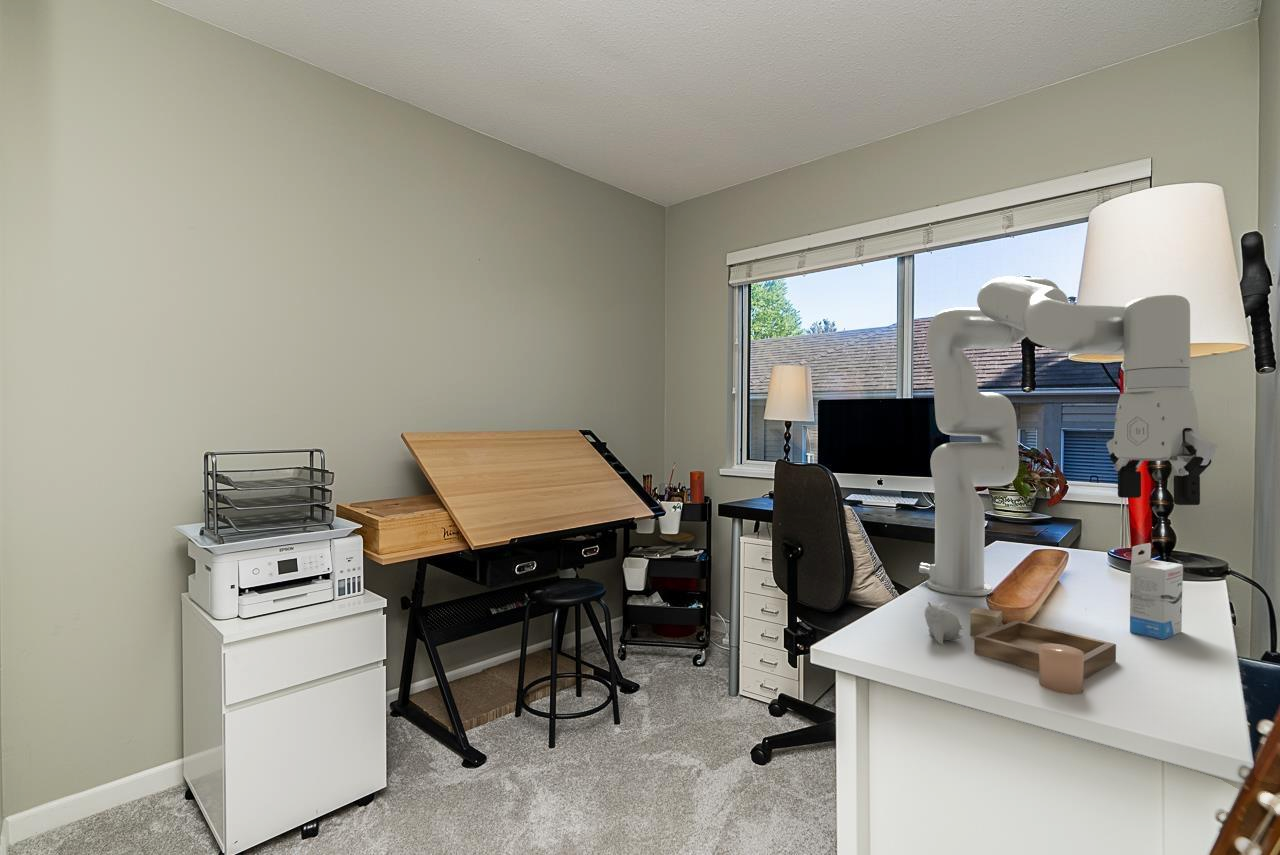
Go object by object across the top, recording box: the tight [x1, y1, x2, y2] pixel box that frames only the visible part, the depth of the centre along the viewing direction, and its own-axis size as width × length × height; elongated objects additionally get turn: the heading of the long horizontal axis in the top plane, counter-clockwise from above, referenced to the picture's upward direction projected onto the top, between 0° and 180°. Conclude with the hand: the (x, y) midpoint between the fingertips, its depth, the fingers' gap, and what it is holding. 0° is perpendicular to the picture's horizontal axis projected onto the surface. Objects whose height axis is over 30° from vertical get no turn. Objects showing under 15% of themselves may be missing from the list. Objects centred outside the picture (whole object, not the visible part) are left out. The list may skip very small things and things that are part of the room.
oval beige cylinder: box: [1038, 643, 1084, 695], centre depth 85 cm, size 5×5×5 cm
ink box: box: [1129, 542, 1184, 640], centre depth 108 cm, size 8×5×15 cm, turn 123°
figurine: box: [924, 601, 964, 646], centre depth 103 cm, size 8×6×8 cm
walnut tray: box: [973, 619, 1117, 681], centre depth 96 cm, size 14×14×3 cm
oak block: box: [969, 607, 1003, 638], centre depth 106 cm, size 4×4×4 cm
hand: (1156, 500), depth 91 cm, fingers open, 9 cm apart
